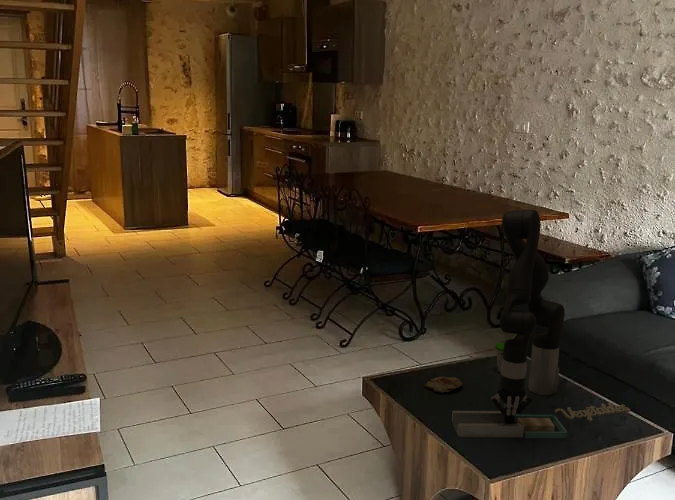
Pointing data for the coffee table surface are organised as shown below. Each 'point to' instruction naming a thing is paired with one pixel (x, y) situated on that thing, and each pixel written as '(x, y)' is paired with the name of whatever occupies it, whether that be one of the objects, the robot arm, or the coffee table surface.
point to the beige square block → (528, 424)
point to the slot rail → (484, 424)
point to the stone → (443, 384)
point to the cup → (500, 353)
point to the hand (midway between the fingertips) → (508, 425)
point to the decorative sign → (591, 410)
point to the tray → (561, 434)
